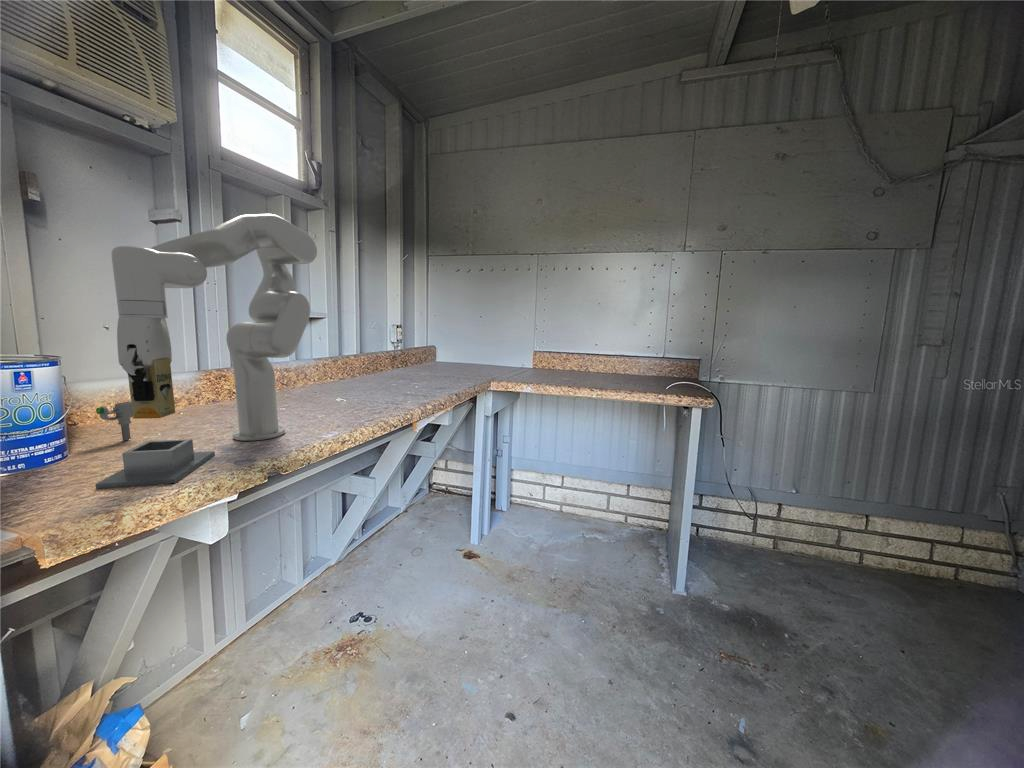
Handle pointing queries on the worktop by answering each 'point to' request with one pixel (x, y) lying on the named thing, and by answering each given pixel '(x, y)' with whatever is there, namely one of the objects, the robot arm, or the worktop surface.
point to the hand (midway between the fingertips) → (152, 397)
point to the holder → (156, 464)
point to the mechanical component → (119, 416)
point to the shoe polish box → (156, 392)
